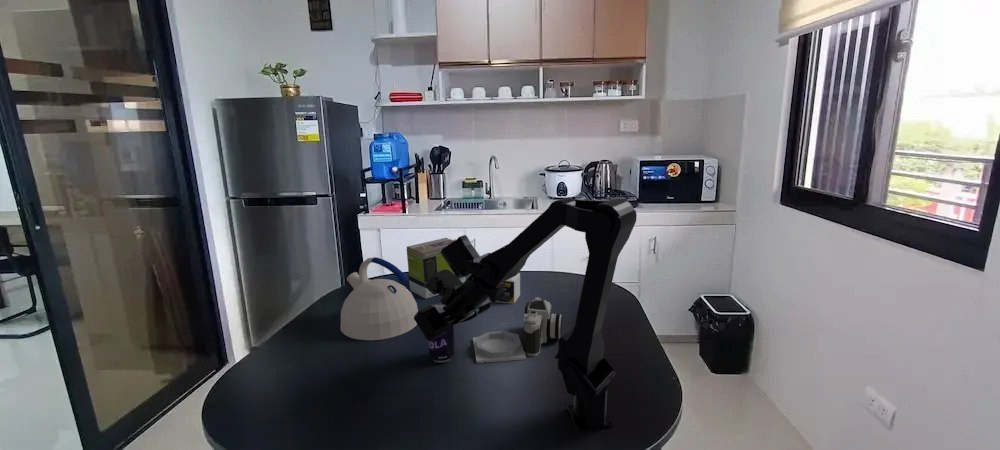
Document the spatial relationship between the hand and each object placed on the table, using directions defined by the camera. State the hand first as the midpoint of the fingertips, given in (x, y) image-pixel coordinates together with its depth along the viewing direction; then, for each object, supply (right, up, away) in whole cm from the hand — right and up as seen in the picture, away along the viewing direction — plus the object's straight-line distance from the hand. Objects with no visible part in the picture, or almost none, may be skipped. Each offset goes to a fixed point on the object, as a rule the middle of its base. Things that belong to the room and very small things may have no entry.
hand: (436, 329), depth 102 cm
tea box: (-5, +3, +42) cm, 43 cm away
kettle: (-17, -3, +19) cm, 26 cm away
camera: (+25, -5, +8) cm, 26 cm away
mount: (+14, -6, +4) cm, 16 cm away
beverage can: (+1, -7, +1) cm, 7 cm away
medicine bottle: (+16, +1, +34) cm, 38 cm away
